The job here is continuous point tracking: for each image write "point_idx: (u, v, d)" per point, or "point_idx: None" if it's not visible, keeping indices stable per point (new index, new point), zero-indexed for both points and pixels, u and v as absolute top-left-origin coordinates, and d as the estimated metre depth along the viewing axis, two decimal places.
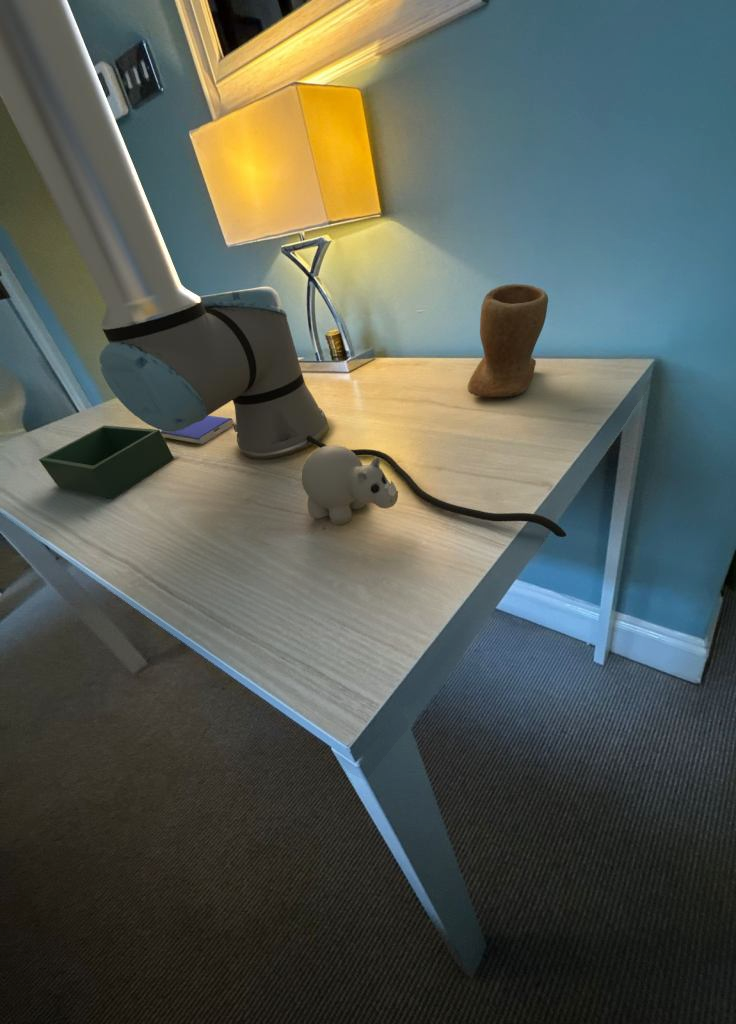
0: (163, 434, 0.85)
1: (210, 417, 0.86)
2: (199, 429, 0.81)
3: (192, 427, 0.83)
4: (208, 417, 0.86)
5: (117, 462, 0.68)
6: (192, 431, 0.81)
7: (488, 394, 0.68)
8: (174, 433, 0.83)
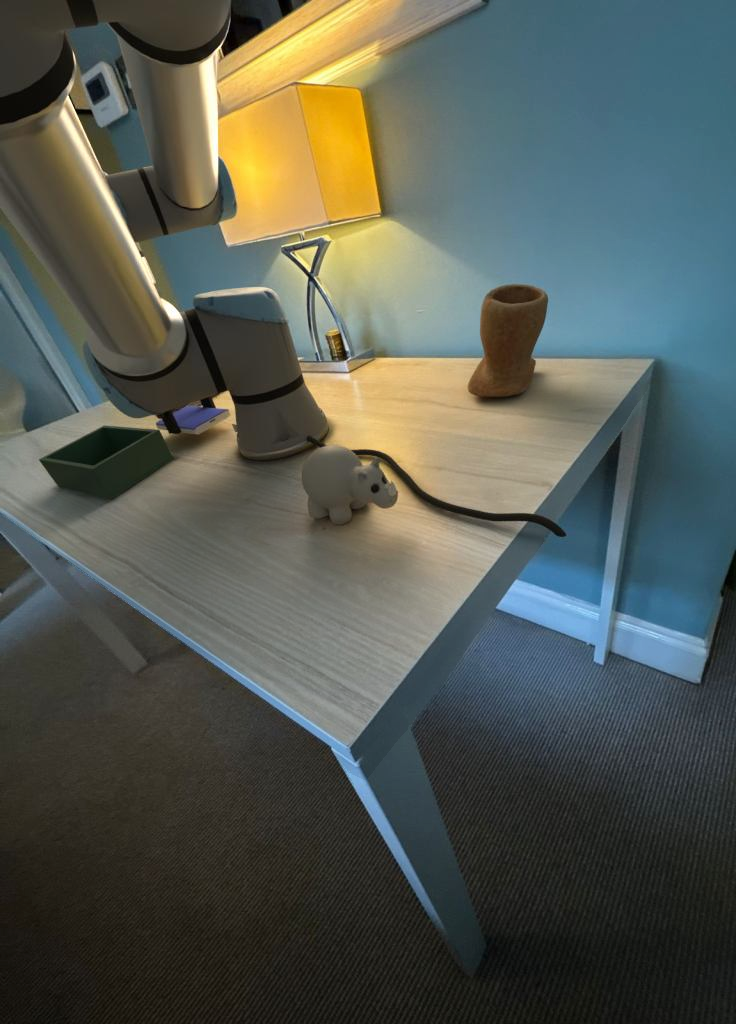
0: (158, 426, 0.84)
1: (206, 408, 0.84)
2: (195, 420, 0.80)
3: (188, 418, 0.82)
4: (204, 408, 0.84)
5: (117, 462, 0.68)
6: (187, 422, 0.80)
7: (488, 394, 0.68)
8: None
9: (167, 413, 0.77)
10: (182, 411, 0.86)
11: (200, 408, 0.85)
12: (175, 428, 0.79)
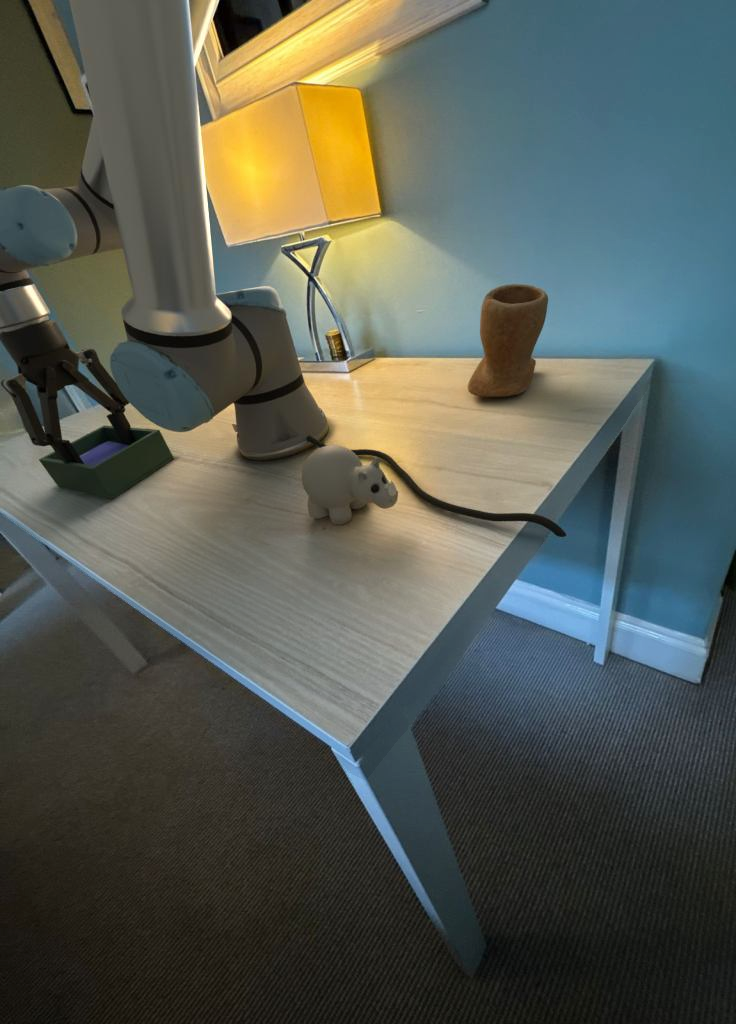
0: None
1: (124, 447, 0.76)
2: None
3: (101, 459, 0.73)
4: (122, 447, 0.76)
5: (117, 462, 0.68)
6: None
7: (488, 394, 0.68)
8: None
9: (73, 456, 0.69)
10: (99, 448, 0.78)
11: (118, 446, 0.77)
12: None
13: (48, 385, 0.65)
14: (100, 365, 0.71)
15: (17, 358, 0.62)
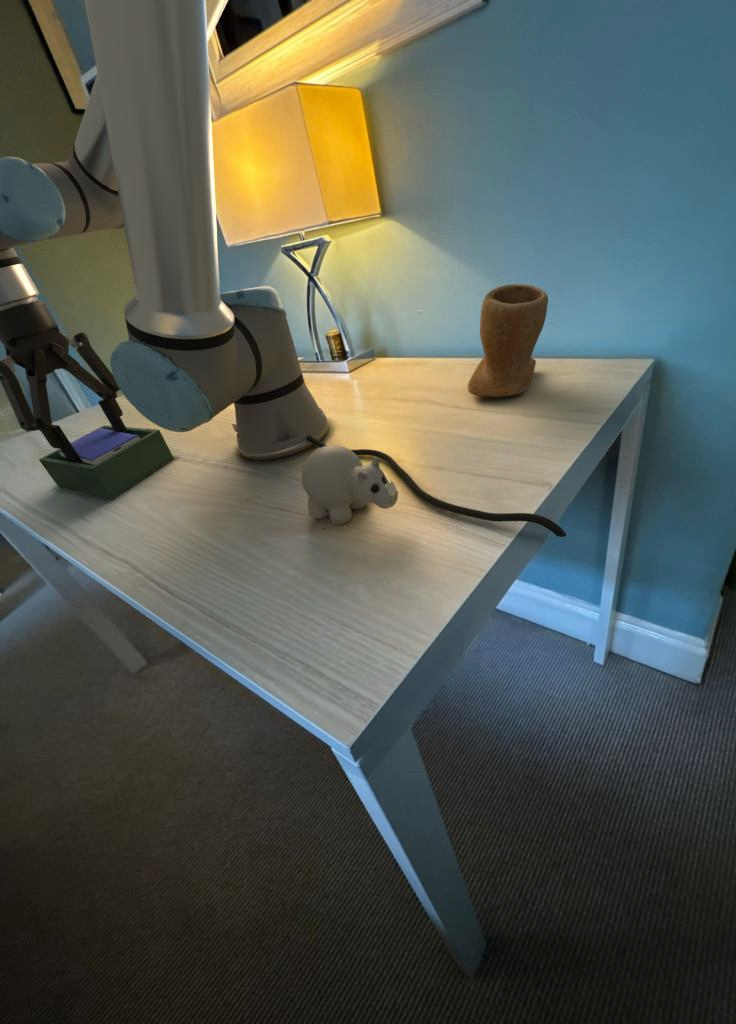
0: (61, 453, 0.74)
1: (116, 433, 0.75)
2: (98, 448, 0.70)
3: (92, 445, 0.72)
4: (114, 433, 0.75)
5: (117, 462, 0.68)
6: (89, 451, 0.70)
7: (488, 394, 0.68)
8: None
9: (63, 442, 0.68)
10: (90, 435, 0.76)
11: (110, 432, 0.76)
12: (74, 458, 0.69)
13: (37, 368, 0.63)
14: (91, 349, 0.69)
15: (5, 339, 0.60)
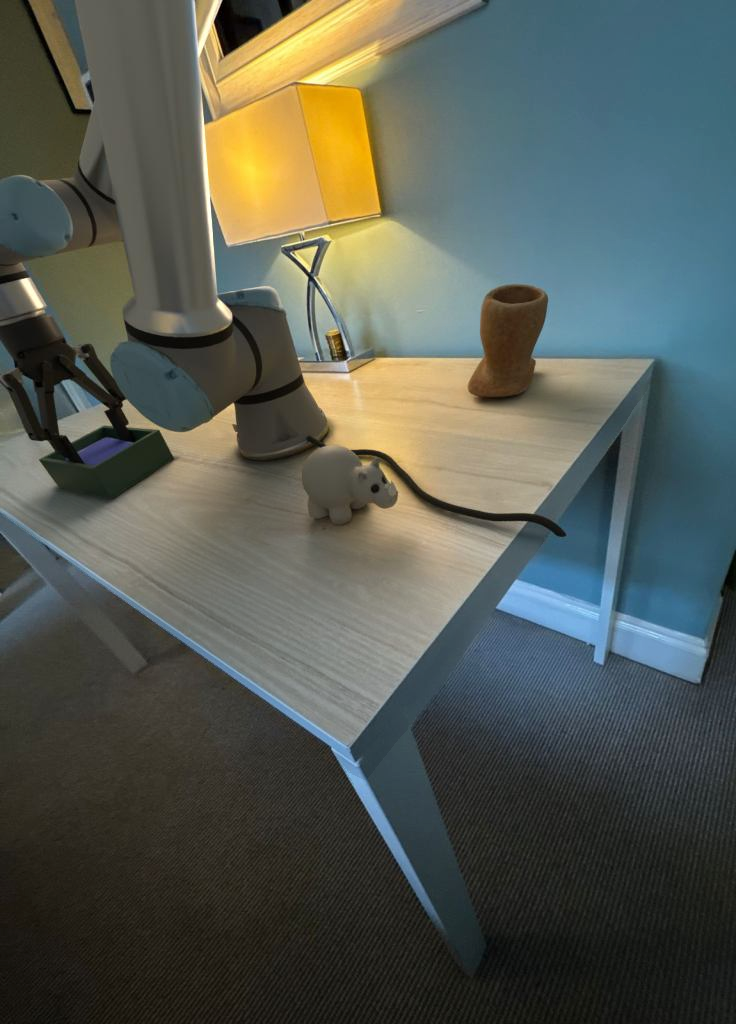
0: None
1: (122, 442, 0.75)
2: (104, 458, 0.71)
3: (98, 455, 0.73)
4: (120, 442, 0.76)
5: (117, 462, 0.68)
6: (96, 460, 0.71)
7: (488, 394, 0.68)
8: None
9: (70, 452, 0.69)
10: (97, 444, 0.77)
11: (116, 441, 0.76)
12: None
13: (45, 379, 0.64)
14: (97, 360, 0.70)
15: (13, 352, 0.61)
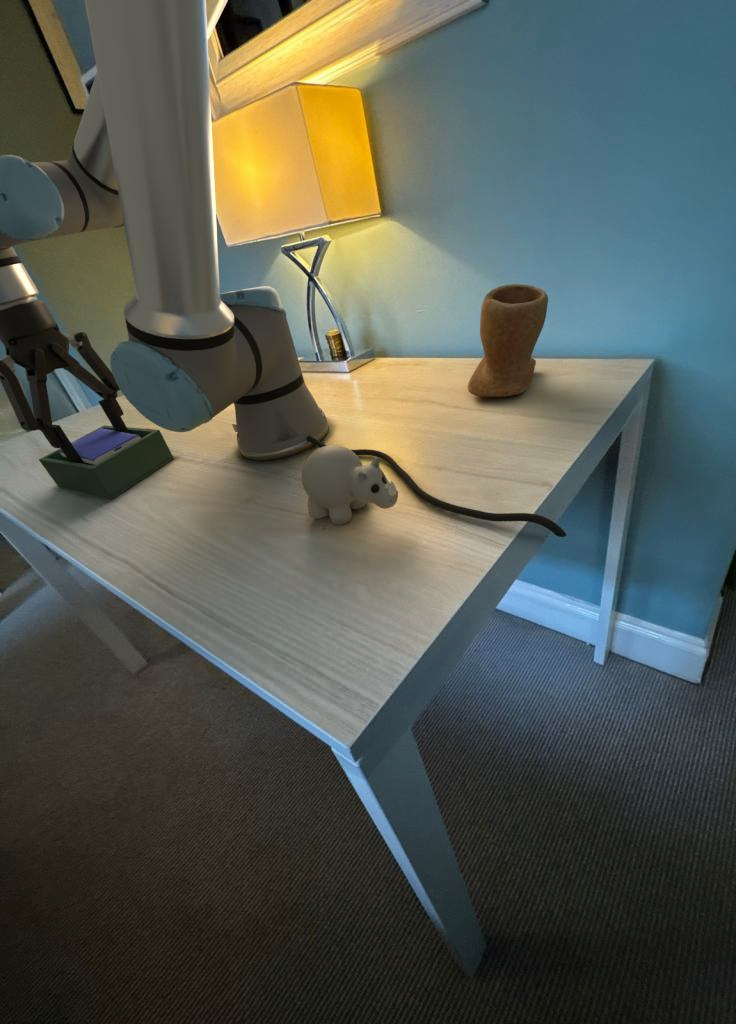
0: (62, 453, 0.74)
1: (116, 433, 0.74)
2: (98, 448, 0.70)
3: (92, 445, 0.72)
4: (114, 433, 0.75)
5: (117, 462, 0.68)
6: (90, 450, 0.70)
7: (488, 394, 0.68)
8: None
9: (63, 442, 0.68)
10: (91, 435, 0.76)
11: (111, 432, 0.75)
12: (75, 458, 0.69)
13: (37, 368, 0.63)
14: (91, 349, 0.69)
15: (5, 339, 0.60)
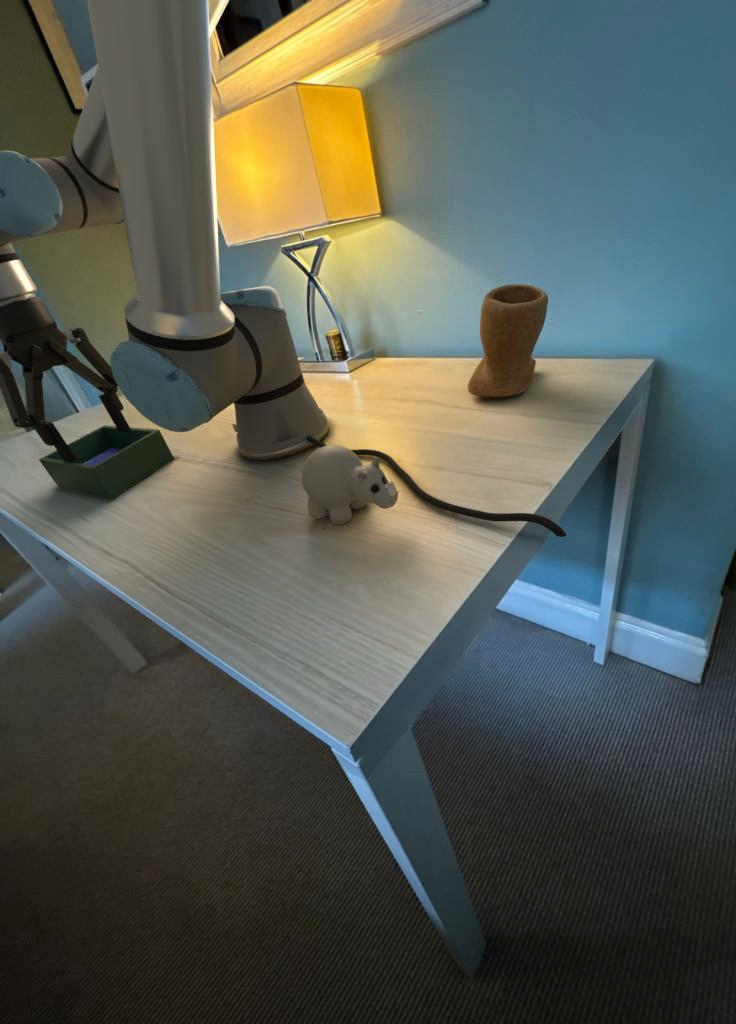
0: None
1: None
2: None
3: None
4: None
5: (117, 462, 0.68)
6: None
7: (488, 394, 0.68)
8: None
9: (56, 439, 0.67)
10: (103, 455, 0.78)
11: None
12: (68, 456, 0.69)
13: (34, 364, 0.63)
14: (89, 344, 0.69)
15: (2, 336, 0.60)
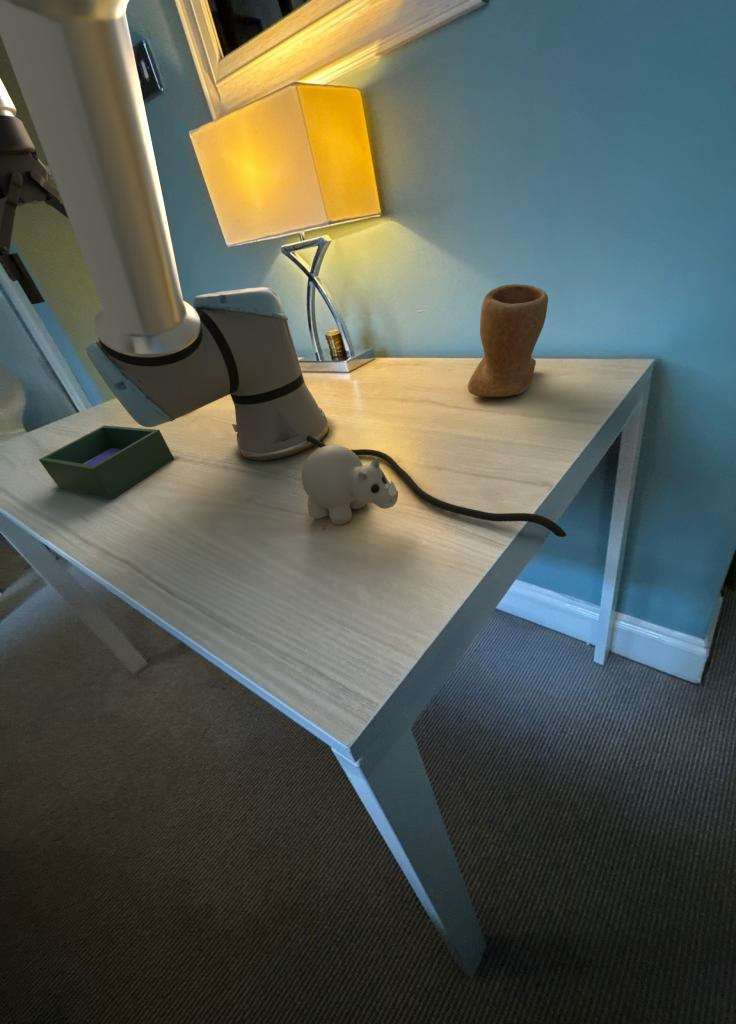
0: None
1: None
2: None
3: None
4: None
5: (117, 462, 0.68)
6: None
7: (488, 394, 0.68)
8: None
9: (22, 273, 0.64)
10: (103, 455, 0.78)
11: None
12: (35, 295, 0.65)
13: (10, 189, 0.61)
14: None
15: None
